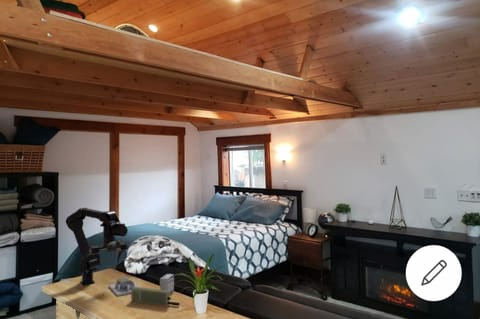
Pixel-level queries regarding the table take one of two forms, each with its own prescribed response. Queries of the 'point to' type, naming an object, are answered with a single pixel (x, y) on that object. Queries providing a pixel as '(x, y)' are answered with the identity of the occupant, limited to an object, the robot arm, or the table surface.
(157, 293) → the handheld radio
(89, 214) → the robot arm
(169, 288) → the medicine box
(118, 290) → the pin cradle
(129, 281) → the block
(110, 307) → the table surface
